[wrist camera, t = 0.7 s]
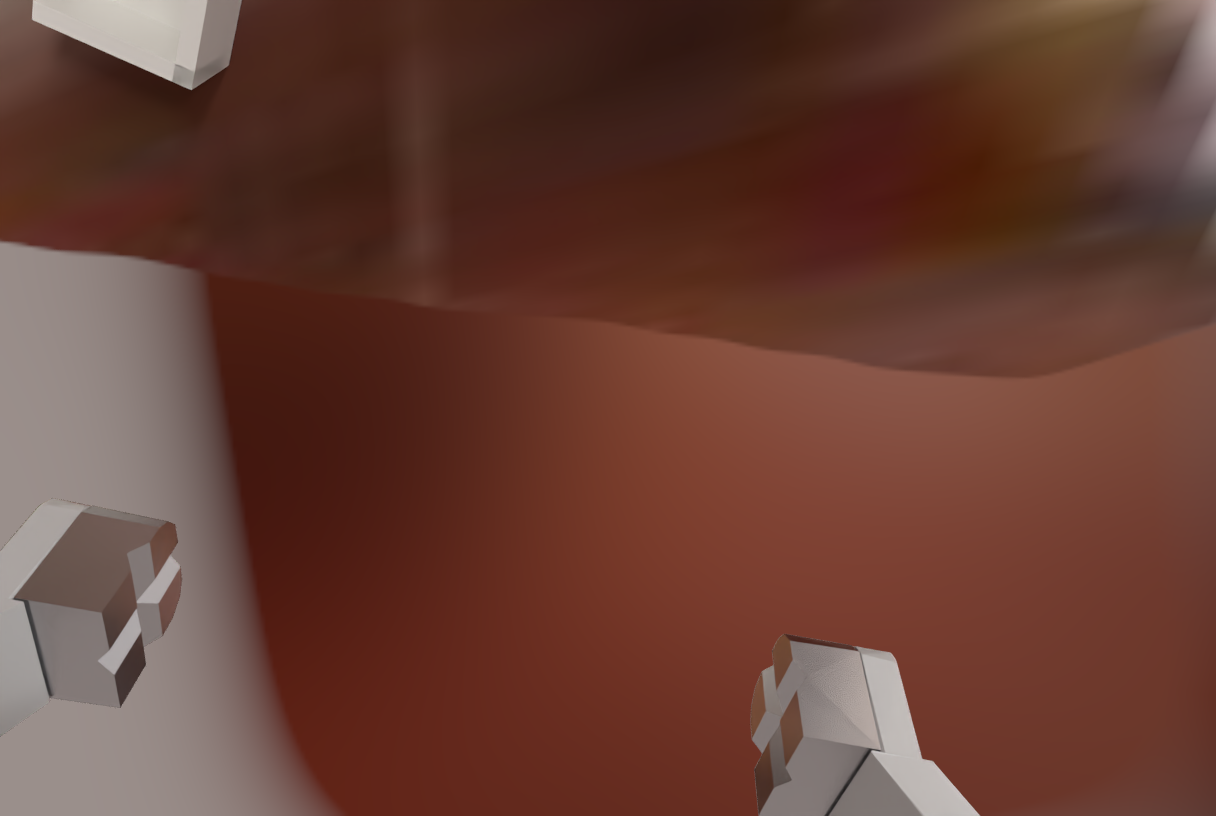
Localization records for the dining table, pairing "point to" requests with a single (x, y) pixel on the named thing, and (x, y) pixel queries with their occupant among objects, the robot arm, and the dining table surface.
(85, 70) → the dining table surface
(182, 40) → the endcap
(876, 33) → the dining table surface
